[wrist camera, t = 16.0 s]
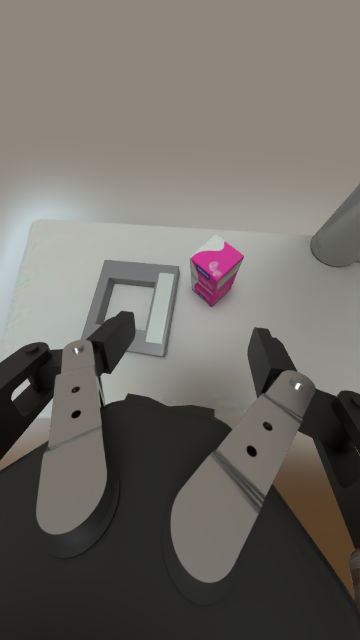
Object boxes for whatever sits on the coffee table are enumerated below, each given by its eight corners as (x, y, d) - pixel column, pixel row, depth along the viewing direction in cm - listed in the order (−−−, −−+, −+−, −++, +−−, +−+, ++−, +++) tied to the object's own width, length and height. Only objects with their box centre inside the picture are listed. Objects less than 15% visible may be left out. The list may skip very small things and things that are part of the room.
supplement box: (190, 290, 37) (188, 255, 26) (210, 271, 38) (216, 231, 27) (210, 308, 35) (217, 280, 24) (231, 289, 36) (246, 253, 25)
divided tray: (179, 272, 38) (178, 265, 36) (165, 357, 34) (162, 355, 31) (110, 266, 40) (104, 259, 38) (87, 345, 36) (78, 343, 33)
